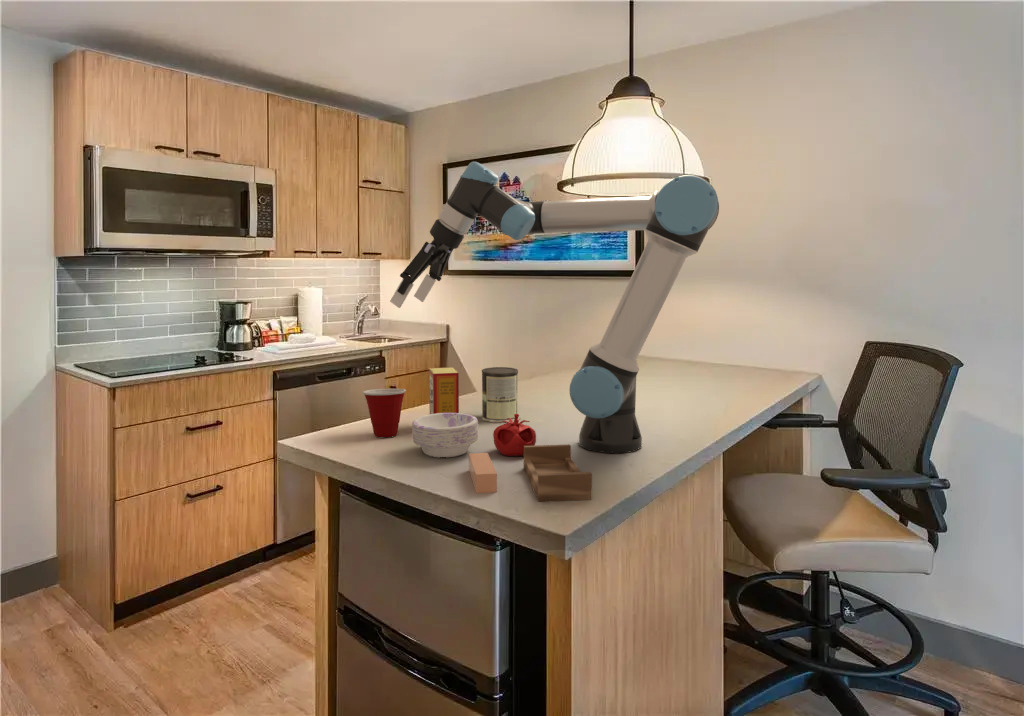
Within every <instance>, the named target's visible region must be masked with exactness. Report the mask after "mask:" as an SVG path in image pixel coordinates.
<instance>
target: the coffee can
mask: <svg viewBox="0 0 1024 716" xmlns="http://www.w3.org/2000/svg"><path fill="white" fill-rule="evenodd" d="M518 374H519V369H518V368H514V367H506V366H501V367H499V366H498V367H497V366H494V367H486V368H483V369H481V377H482V378H481V381H482V383H481V385H482V386H481V387H482V389H481V392H482V393H481V398H482V399H481V402H482V404H481V405H482V406H481V407H482V408H481V409H482V413H481V414H482V415H481V416H482V417H481V419H482V420H483V421H484V422H488V423H497V424H501V423H504V424H505V423H506V422H502V421H507V422H510V421H509V419H507V418H510V419H511V420H512V421H513V422H514V418H515V416H514V414H518V393H519V392H518V381H519V379H518ZM506 419H507V420H506ZM500 422H501V423H500Z"/></svg>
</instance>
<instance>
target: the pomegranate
mask: <svg viewBox="0 0 1024 716" xmlns="http://www.w3.org/2000/svg"><path fill="white" fill-rule="evenodd" d="M514 416H515V418H514V421H512V420H511V419H510V418H507V419H509V421H510V422H507V421H502V422H505V423H504V424H501V422H500V423H499V424H500V425H498V426H496V428H494V430H493V433H492V438H493V444H494V447H495V448H496V450H497V451H498V452H500V454H501V455H503V456H507V457H514V456H515V457H516V456H518V457H519V456H524V446H535V445H536V443H537V434H536V431H535V430H534V429H533V428H532V427H531V426H529V425H527V424H523V423H529V422H530V420H526V419H523V420H521V417H520V414H519V413H517V414H514ZM519 417H520V418H519ZM507 419H506V420H507ZM520 420H521V421H520Z"/></svg>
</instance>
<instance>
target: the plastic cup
mask: <svg viewBox="0 0 1024 716" xmlns="http://www.w3.org/2000/svg"><path fill="white" fill-rule="evenodd" d="M406 391H407V390H406V389H404V388H377V389H376V388H374V389H367V390H363V391H362V394H363V395H364V398H365V400H366V404H367V409H368V413H369V418H370V423H371V427H372V431H373V434H374V435H373V436H374V437H375V436H377V437H376V438H378V437H391V438H393V437H392V436H395V437H396V435H398V432H399V424H400V422H401V421H400V419H401V414H402V413H401V412H402V406H403V402H404V397H405V394H406Z"/></svg>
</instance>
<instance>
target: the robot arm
mask: <svg viewBox="0 0 1024 716" xmlns="http://www.w3.org/2000/svg"><path fill="white" fill-rule="evenodd" d="M498 181H499V176H498V174H496V173H495V172H494V171H493V170H491V169H489V168H488V167H487V166H485V165H483V164H482V163H480V162H477V161H471V162H470V163H469V164H468V165H467V167H466V168H465V170H464V171H463V172H462V174H461V175H460V177H459V179H458V181H457V183H456V184H455V186H454V189H453V191H452V192H451V193H450V195H449V198H448V199H447V201H446V203H444V204H442V205H441V208H442V210H441V211H440V212H439V214H438V219H436V220H435V221H434V223H433V224H432V226H431V228H430V230H429V234H430V236H431V237H432V238H433V240H432V241H431V242H430V243H429V242H428V241H425V242H424V243H423V246H422V247H421V248H420V250H419V251H418V252H417V254H416V255H415V256H414V258H412V259H411V261H410V263H409V264H408V265H407V266H406V268H405V269H404V270H403V271H402V272H401V273H400V275H399V277H400V278H402V279H401V281H400V283H399V284H398V286H397V287H396V290H395V291H394V294H393V295H392V297H391V299H390V300H389V303H391V304H392V305H394V306H395V307H397V308H398V309H401V307H402V306H403V304H404V302H405V301H406V299H407V297H408V295H409V294H410V292H411V290H412V289H413V287H414V286H415V284H414V282H416V280H417V279H418V278H419V277H421V275H422V274H423V273H424V272H425V271H426V269H428V267H429V271H428V274H427V273H426V275H425V276H424V278H423V279H422V281H421V282H420V284H419V286H418V287H417V289H416V291H415V293H414V294H413V297H415V299H417V300H418V301H420V302H421V303H423V302H425V300H426V298H427V297H428V295H429V293H430V292H431V290H432V288H433V287H434V284H435V283H436V282H437V281H438V282H440V281H441V280H442V277H443V276H444V272H445V269H446V268H447V265H448V262H449V259H450V257H451V255H452V253H453V251H454V250H455V249H458V248H459V247H460V245H461V243H463V242H462V241H463V240H464V238H465V234H467V233H468V232H469V230H470V228H471V226H472V225H473V224H474V221H475V220H476V218H477V217H478V215H479V216H480V217H482V218H483V219H484V220H486V221H487V222H489V223H490V224H492V226H494V227H496V229H498V230H499V231H501V232H502V233H503V235H505V236H508V237H509V238H511V239H513V240H514V241H520V240H522V239H524V238H525V237H526V236H529V235H532V236H533V235H534V234H556V233H561V234H562V233H590V232H593V233H594V232H595V233H596V232H621V231H622V232H623V231H624V232H625V231H626V232H627V231H644V232H645V234H646V238H647V242H646V244H645V246H644V249H643V251H642V254H641V255H640V257H639V259H638V262H637V264H636V266H635V267H634V271H633V273H632V275H631V277H630V278H629V281H628V283H627V285H626V287H625V289H624V291H623V294H622V295H621V298H620V300H619V302H618V304H617V306H616V308H615V310H614V313H613V315H612V317H611V319H610V321H609V323H608V325H607V327H606V330H605V332H604V335H603V336H602V338H601V340H600V342H599V343H597V344H593V345H591V346H590V348H589V350H588V352H587V353H586V356H585V357H584V359H583V362H582V364H581V367H580V369H578V370H577V371H575V374H573V376H572V378H571V381H570V384H569V397H570V400H571V403H572V404H573V406H574V407H575V408H576V409H577V411H578V412H580V413H581V414H583V416H585V417H584V420H583V423H582V426H581V428H580V431H579V435H578V444H579V446H580V447H581V448H584V449H586V450H588V451H589V450H590V451H592V452H593V451H594V452H598V453H599V452H600V453H606V454H607V453H609V454H610V453H611V454H622V453H621V452H624V453H629V452H628V451H631V452H634V451H633V450H635V451H637V450H636V449H638V448H640V447H641V448H642V446H641V445H642V444H643V443H642V441H643V440H642V439H643V437H642V434H641V430H640V427H639V424H638V421H637V417H636V399H637V398H636V397H637V396H636V395H637V375H638V373H639V371H640V368H639V364H638V362H637V361H638V360H637V359H638V357H639V355H640V353H641V352H642V349H643V347H644V344H645V342H646V341H647V339H648V337H649V335H650V332H651V330H652V329H653V327H654V324H655V322H656V320H657V318H658V316H659V314H660V312H661V310H662V308H663V306H664V305H665V304H664V303H665V302H666V300H667V298H668V297H669V296H668V295H669V294H670V292H671V290H672V288H673V286H674V283H675V281H676V279H677V278H678V275H679V273H680V272H681V270H682V267H683V265H684V263H685V261H686V260H687V258H689V257H690V256H693V255H695V254H697V253H698V252H699V250H700V248H701V246H702V243H703V242H704V240H705V237H706V236H707V234H708V232H709V231H710V229H711V228H712V227H713V226H714V225H715V223H716V222H717V219H718V217H719V213H720V203H719V199H718V198H719V197H718V195H717V191H716V189H715V188H714V186H713V185H712V184H711V183H710V182H709V181H707V180H706V179H704V178H702V177H699V176H697V175H692V174H691V175H690V174H688V175H687V174H686V175H679V176H677V177H674V178H672V179H671V180H669V181H668V182H666V183H665V184H664V185H663V186H662V187H661V189H660V190H655V191H654V192H653V193H652V194H651V195H647V196H646V195H644V196H643V195H642V196H628V197H627V196H626V197H625V196H624V197H603V198H583V199H567V200H566V199H564V200H545V201H542V200H541V201H523V200H520V199H517V198H515V197H513V196H512V195H510V194H509V193H507V192H505V191H504V190H503V189H501V188H500V187H499V186H498V185H497V184H498ZM641 448H640V449H641ZM638 450H639V449H638Z"/></svg>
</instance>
